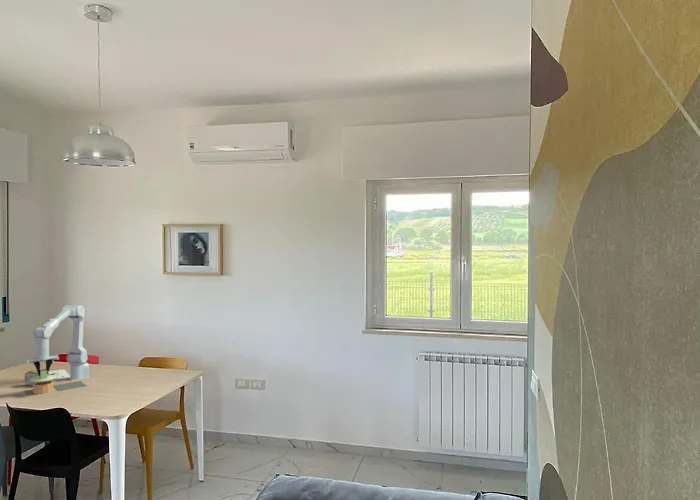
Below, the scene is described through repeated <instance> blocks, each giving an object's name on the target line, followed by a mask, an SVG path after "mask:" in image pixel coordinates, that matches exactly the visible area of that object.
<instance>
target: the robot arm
mask: <svg viewBox="0 0 700 500" xmlns="http://www.w3.org/2000/svg"><path fill="white" fill-rule="evenodd" d="M85 312H86V311H85V308H84V306H83V305H81V304H80V305H79V304H78V305H69V304H66V305H65V306H64V307H61V311H60V312H59V313H58V314H57V315H56V316H55V317H54V318H49V319H48V320H47V321H46V322H45V323H43V325H41V326H40V327H37V328H35V330H34V332H33V334H32V335H33V337H34V341H35V342H36V343H35V344H36V345H35V347H36V351H35V352H36V357H33V358H29V359H26V364H27V365H28V364H33V365H34V367H35V368H36V371H37V372H38V376H40V370H41V362H45V369H46V370H47V375H49V371H50V368H51V366H52V364H53V361H55V360H57V361H58V360H60V357H59V355H50V338H51V336H52V334H53V333H54V331H55V330H56V329H57V328H58V327H59V326H60V323H61V322H63V321H64V320H65V319H67V318H69V319H71V321H73V323H72V325H73V327H72V346H71V348H70V349H69V350H68V351H67V356H66V362H67V363H68V365H69V369H70V370H69V371H70V373H69V374H70V377H68V379H69V380H70V381H71V382H75V381H81V380H84V379H89V378H90V366H89V362H87V361H88V352H87V351H88V350H87V349H86V348H84V346H83V342H84V341H83V340H84V326H85V325H84V324H85Z"/></svg>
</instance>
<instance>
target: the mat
mask: <svg viewBox="0 0 700 500" xmlns="http://www.w3.org/2000/svg"><path fill="white" fill-rule="evenodd" d="M84 387H87V384H85V383H84V382H83V381H81V380H76V381H71V382H67V383H61V384H60V383H59V384H56V385H54V384H53V389H55V390H56V391H57V392H61V391H68V390H73V389H78V388H84Z"/></svg>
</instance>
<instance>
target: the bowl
mask: <svg viewBox="0 0 700 500" xmlns="http://www.w3.org/2000/svg"><path fill="white" fill-rule="evenodd" d="M53 386H54V380H50V381H46V382H36V383H34V384H33V386H32V392H33V394H34V395H44V394H49V393H51V392H53V391H54V387H53Z"/></svg>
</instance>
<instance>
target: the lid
mask: <svg viewBox="0 0 700 500" xmlns="http://www.w3.org/2000/svg"><path fill="white" fill-rule="evenodd" d="M54 380H57V376H56V375H55V374H48V375H47V370H46V368H44V369H40V376H37V377H34V378H31V379H30V382H46V381H54Z"/></svg>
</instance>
